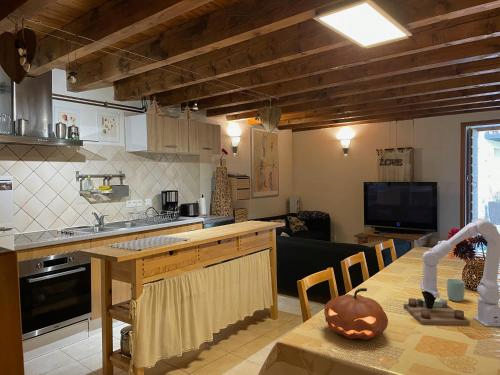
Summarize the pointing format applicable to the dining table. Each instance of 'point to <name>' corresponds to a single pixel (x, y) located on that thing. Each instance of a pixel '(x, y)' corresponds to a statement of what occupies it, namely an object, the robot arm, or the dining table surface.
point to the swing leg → (436, 304)
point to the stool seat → (436, 315)
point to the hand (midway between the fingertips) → (429, 308)
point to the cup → (455, 289)
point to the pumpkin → (355, 316)
